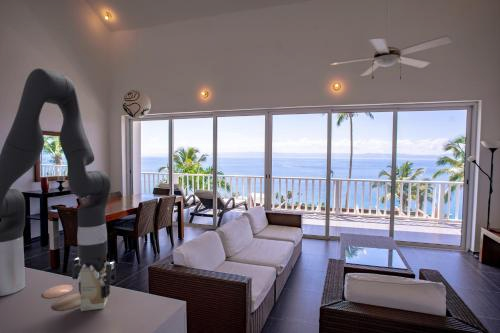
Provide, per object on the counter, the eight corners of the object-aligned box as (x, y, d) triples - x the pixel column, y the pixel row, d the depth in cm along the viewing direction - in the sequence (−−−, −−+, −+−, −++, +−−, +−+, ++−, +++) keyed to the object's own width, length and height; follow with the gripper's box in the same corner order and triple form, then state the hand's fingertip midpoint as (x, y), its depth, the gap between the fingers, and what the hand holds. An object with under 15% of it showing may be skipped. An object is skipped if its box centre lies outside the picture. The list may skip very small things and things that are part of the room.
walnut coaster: (45, 308, 84) (45, 305, 84) (72, 294, 93) (72, 291, 93) (69, 313, 81) (69, 310, 81) (95, 298, 90) (94, 295, 90)
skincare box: (80, 312, 81) (78, 269, 81) (84, 304, 86) (83, 263, 85) (105, 308, 83) (103, 266, 83) (108, 301, 87) (107, 261, 87)
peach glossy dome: (36, 296, 91) (36, 294, 91) (60, 285, 99) (59, 283, 99) (56, 300, 89) (55, 297, 89) (78, 288, 96) (78, 286, 96)
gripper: (61, 241, 82) (64, 298, 83) (102, 246, 78) (104, 305, 79) (84, 234, 89) (85, 286, 90) (122, 238, 85) (123, 292, 86)
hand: (94, 295), depth 84 cm, fingers closed on skincare box, 7 cm apart
